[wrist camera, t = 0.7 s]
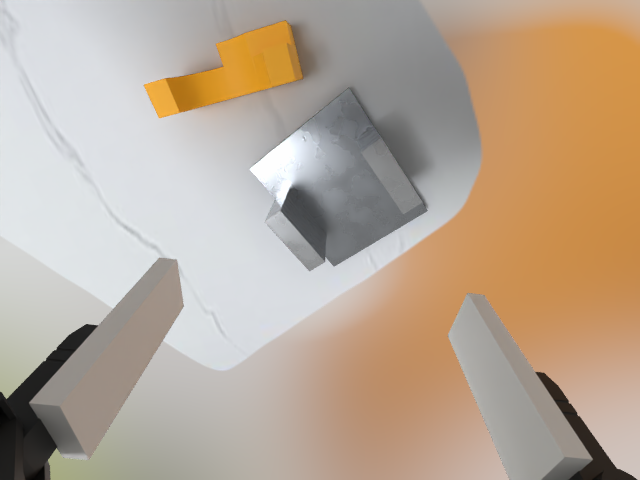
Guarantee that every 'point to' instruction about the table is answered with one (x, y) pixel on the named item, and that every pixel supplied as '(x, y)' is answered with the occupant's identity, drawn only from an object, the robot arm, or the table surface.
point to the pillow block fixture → (335, 186)
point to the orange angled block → (233, 71)
